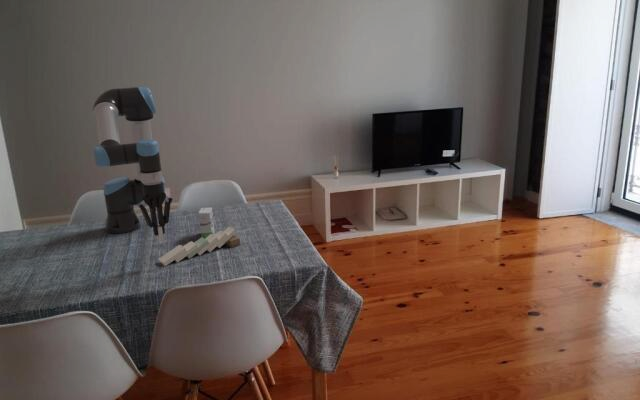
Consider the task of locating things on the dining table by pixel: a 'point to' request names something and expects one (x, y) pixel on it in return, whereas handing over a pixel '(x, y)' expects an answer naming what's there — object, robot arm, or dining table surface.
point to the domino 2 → (189, 247)
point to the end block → (233, 241)
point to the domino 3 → (200, 243)
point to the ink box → (206, 222)
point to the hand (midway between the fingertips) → (160, 242)
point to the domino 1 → (172, 255)
